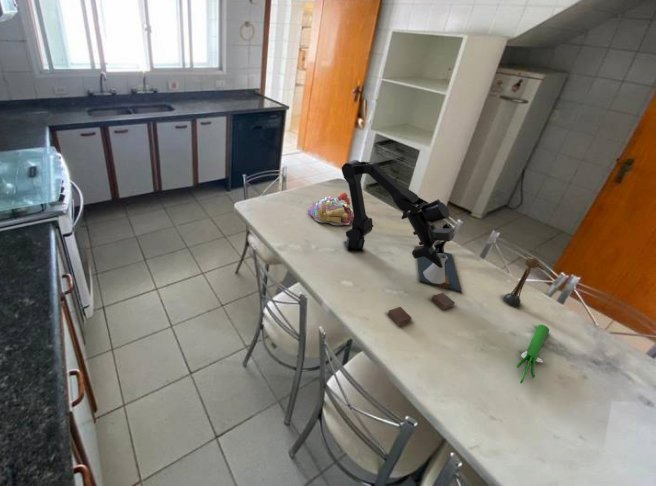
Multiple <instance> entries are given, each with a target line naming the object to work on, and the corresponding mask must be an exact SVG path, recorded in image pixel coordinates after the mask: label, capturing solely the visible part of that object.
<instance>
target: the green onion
mask: <svg viewBox="0 0 656 486" xmlns="http://www.w3.org/2000/svg"><path fill="white" fill-rule="evenodd" d="M549 332H550V328H549V327H548V326H547V325H545V324H541V323H540V324H538V325H537V327H536V330H535V333H534V335H533V337H532V339H531V341H530V344H529V346H528V348H527V350H525V351H524V352H522V353H521V355H520V356H521V358H522V359H521V360H520V361H519V362H518V363H517V365H516V368H517V369H519V368H520V367H521V366H522V365H523V364H524V363H525V362H526V361H527V363H526V365H525V368H524V370H523V373H522V377H521V379H520V381H519V383H520V384H521V385H522V384H523V383H524V380H525V378H526V375H527V373H528V370H529V368H530V375H531V379H535V377H536V372H535V363H536V362H537V363H544V361H543V359H541V358H540V357H539V355H540V352H541V349H542V347H543V345H544V343H545V339H546V338H547V336H548V334H549Z"/></svg>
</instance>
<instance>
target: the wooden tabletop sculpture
mask: <svg viewBox="0 0 656 486" xmlns="http://www.w3.org/2000/svg"><path fill="white" fill-rule="evenodd" d="M524 263H525V265H526V266H527V267H525V270H524V272H523V274H522V275H521V278H520V279H519V281H518V282H517V284H516V286H515V287H514V288H513V290H512V291H511V292H510V293H507V294H505V295H504V296H503V302H504V303H506V304H507V305H509V306H511V307H514V308H518V307H520V304H521V293H522V290H523V287H524V285H525V283H526V281H527V279H528V277H529V275H530V274H531V272H532V269H540V270H542V271H544V270H545V269H546V267H545V266H544V265H541V264H540V263H541V262H540V260H539V259H538V258H537V257H535V256H528V257H526V258H525V260H524Z"/></svg>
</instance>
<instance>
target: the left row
mask: <svg viewBox="0 0 656 486" xmlns="http://www.w3.org/2000/svg"><path fill="white" fill-rule="evenodd" d="M431 302H433V303H434V304H435V305H436V306H437V307H439V308H440V309H441V310H443V311H444V310H447V309H450V308H452V307H454V305H455V301H454V300H453V299H451V298H450V297H449V296H448V295H447V294H445V293H444V292H440V293H437V294H434V295H432V296H431ZM387 316H388V317H389V318H390V319H391V320H392V321H393V322H394V323H395V324H396V325H397V326H398V327H400V326H403V325H406V324H409V323H411V321H412V318H413V317H412V316H411V315H410V314H409V313H408V312H407V311H406V310H405V309H404V308H403V307H402V306H398V307H395V308H392V309H389V310H388V313H387Z"/></svg>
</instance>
